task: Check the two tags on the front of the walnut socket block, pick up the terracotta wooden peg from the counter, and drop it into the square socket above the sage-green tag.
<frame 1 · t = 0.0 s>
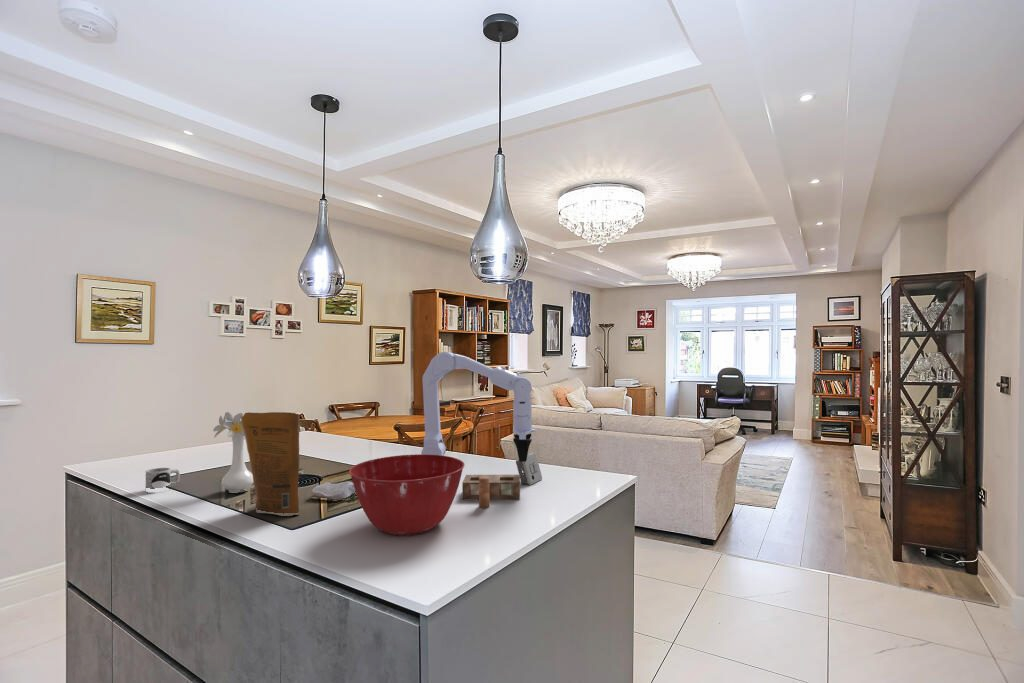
hand: (522, 458, 167), 10 cm above the table, tool pointing down, fingers open, 7 cm apart
pancake mix bag: (274, 514, 146), on the table
socket block: (492, 494, 163), on the table
peg: (484, 506, 151), on the table
electrical switch: (529, 482, 178), on the table
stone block: (332, 498, 162), on the table
flower vase: (240, 492, 170), on the table
mug: (163, 490, 173), on the table
mixing bowl: (408, 527, 134), on the table
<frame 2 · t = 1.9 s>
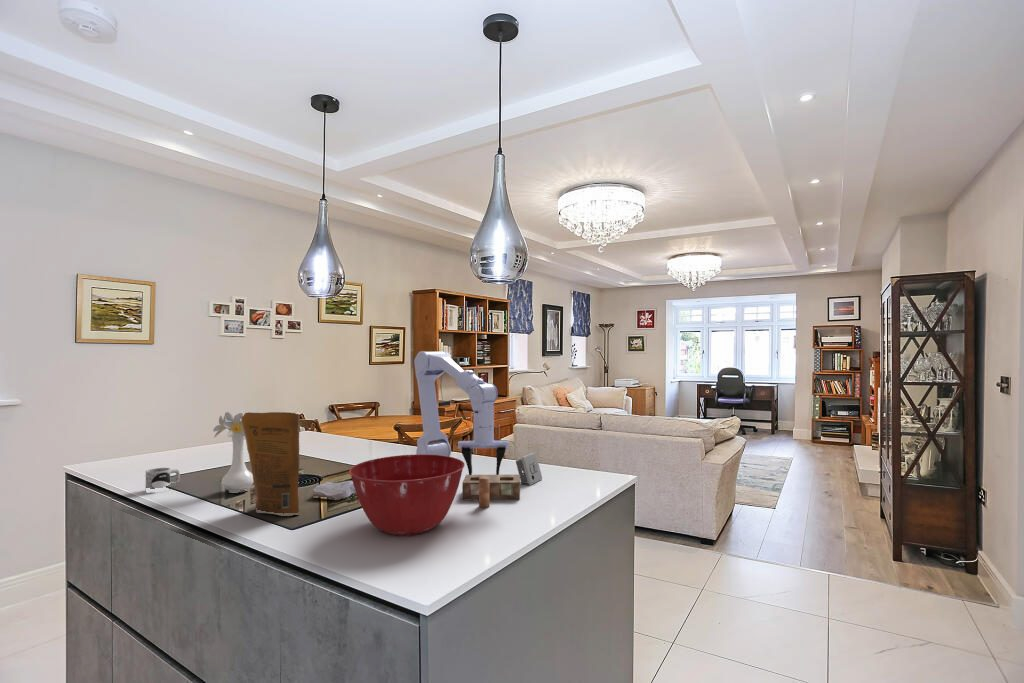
hand: (484, 474, 151), 9 cm above the table, tool pointing down, fingers open, 7 cm apart
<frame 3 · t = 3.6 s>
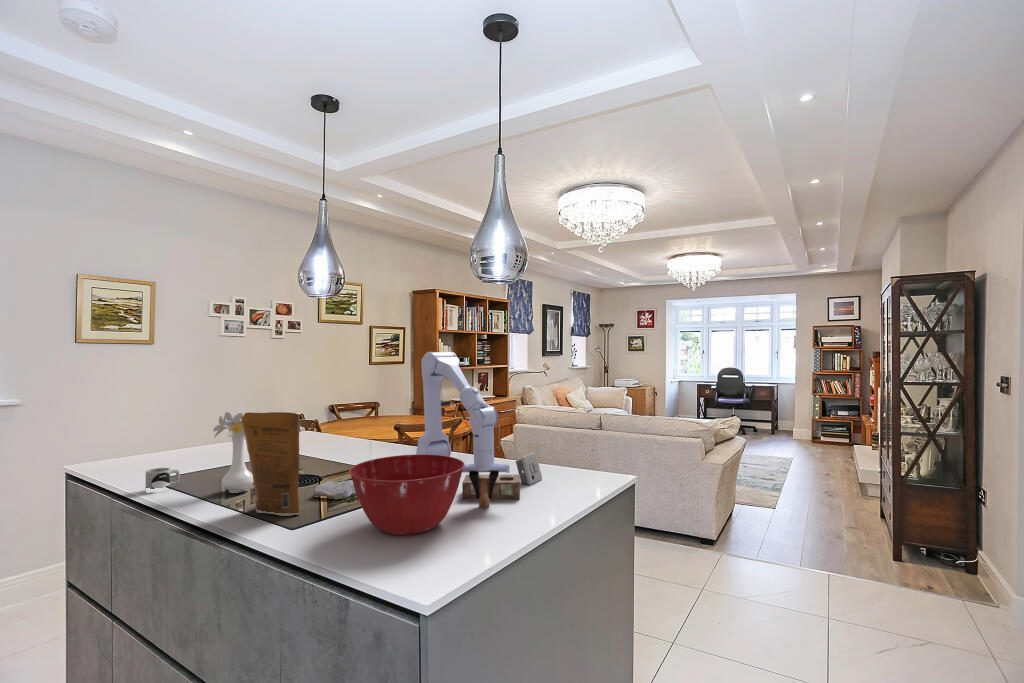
hand: (484, 497, 151), 2 cm above the table, tool pointing down, fingers closed on peg, 3 cm apart
peg: (484, 506, 151), on the table, touching gripper
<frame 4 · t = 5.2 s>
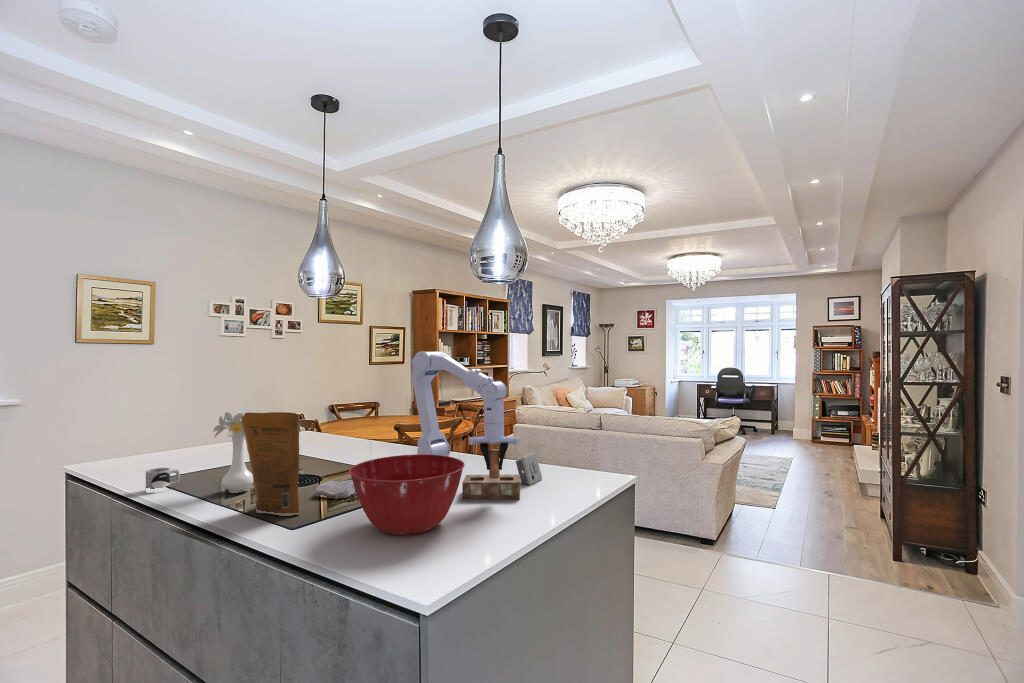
hand: (494, 469, 156), 9 cm above the table, tool pointing down, fingers closed on peg, 3 cm apart
peg: (494, 477, 156), point 7 cm above the table, touching gripper
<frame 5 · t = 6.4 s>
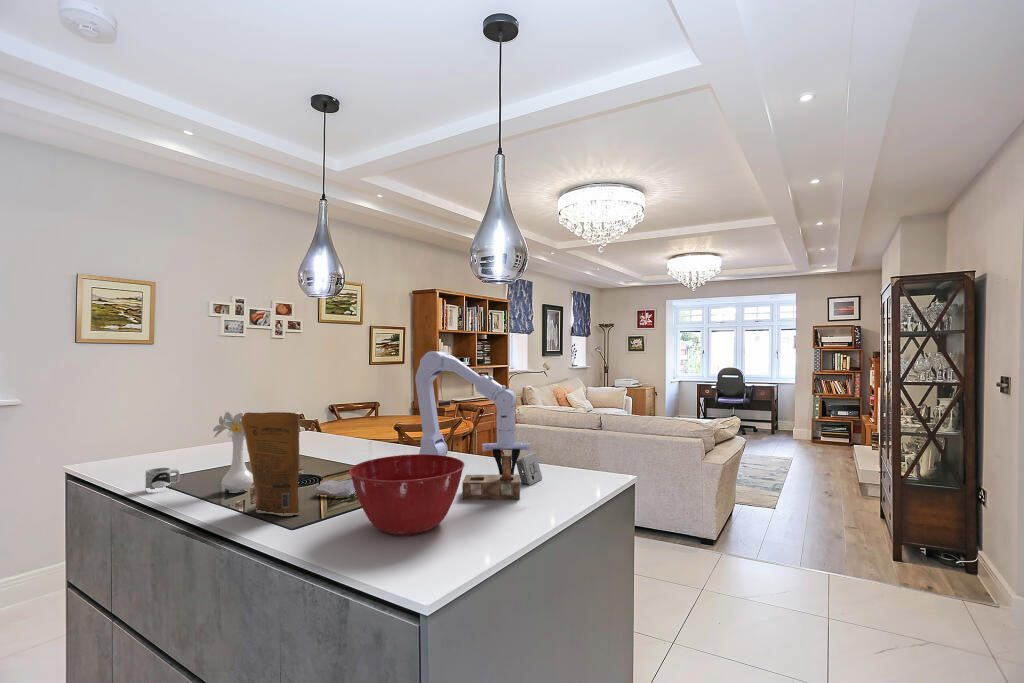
hand: (506, 474, 162), 6 cm above the table, tool pointing down, fingers closed on peg, 3 cm apart
peg: (506, 482, 162), point 4 cm above the table, touching gripper
when the fingers open (6 cm above the table, at t = 7.0 s): peg drops 3 cm, resting on socket block.
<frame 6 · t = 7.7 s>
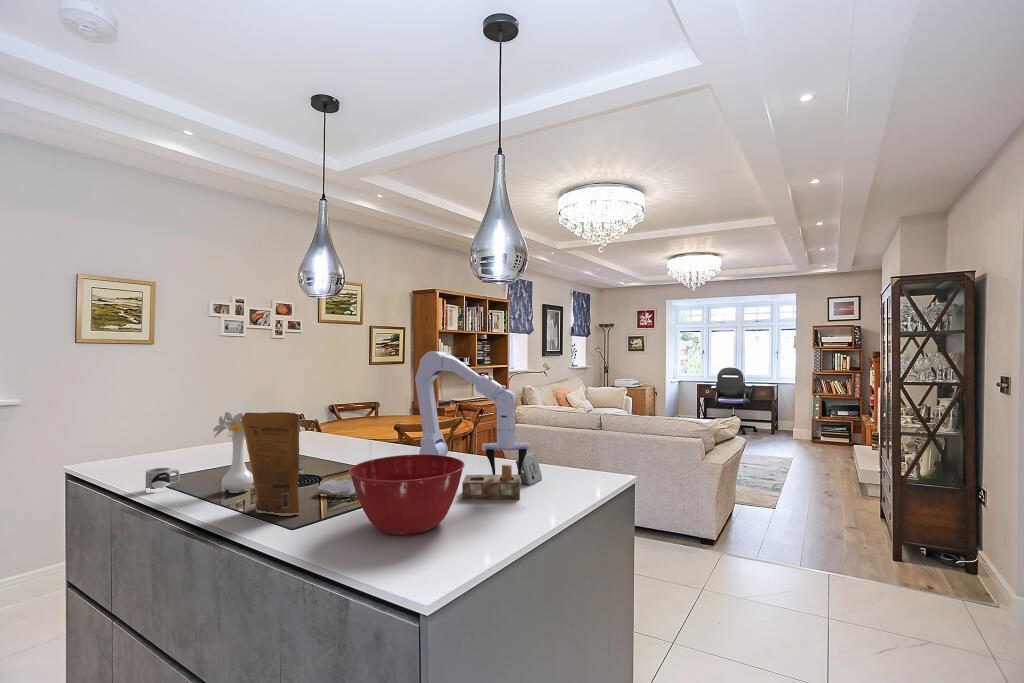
hand: (506, 474, 162), 6 cm above the table, tool pointing down, fingers open, 7 cm apart
peg: (506, 491, 162), point 1 cm above the table, touching socket block
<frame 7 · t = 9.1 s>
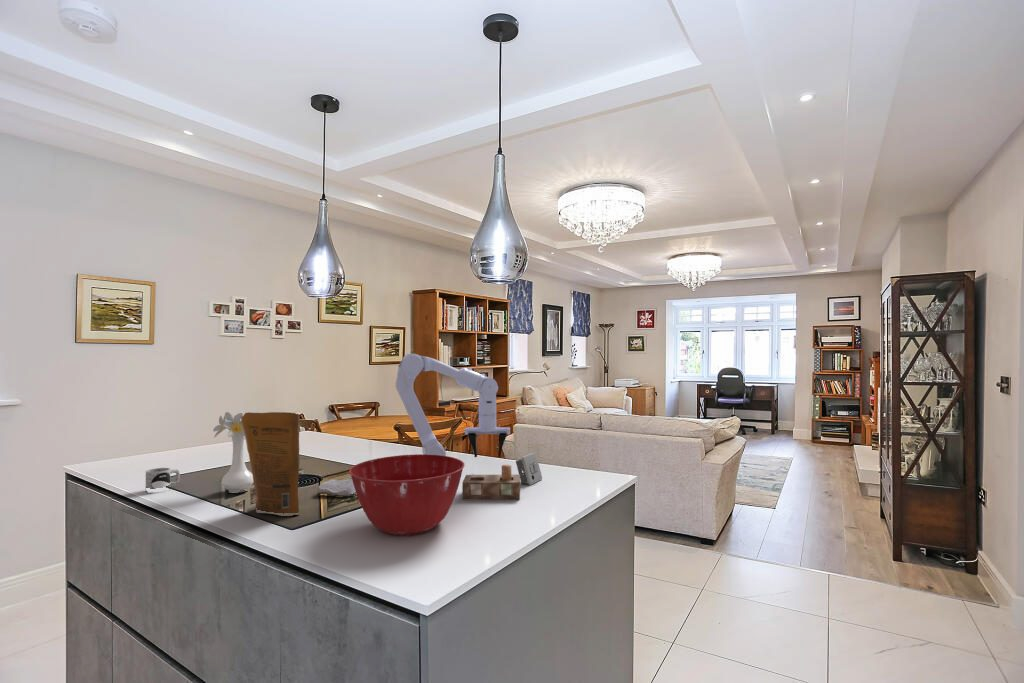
hand: (487, 456, 172), 10 cm above the table, tool pointing down, fingers open, 7 cm apart
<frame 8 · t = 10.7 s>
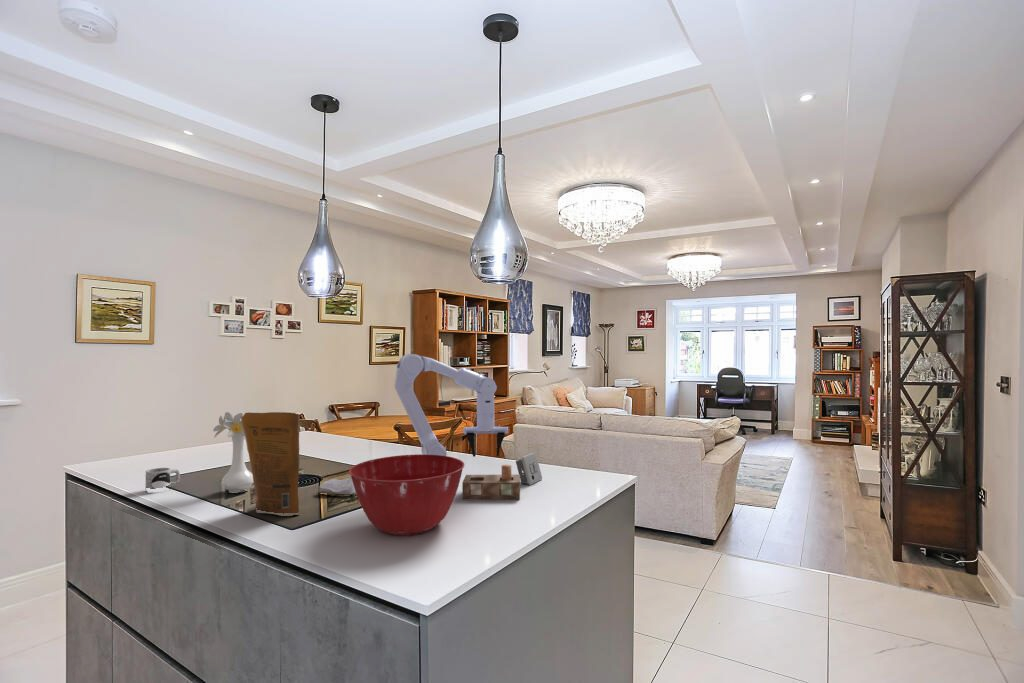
hand: (486, 455, 173), 10 cm above the table, tool pointing down, fingers open, 7 cm apart
at the end: peg 0.1 cm from the target spot on the socket block, point 1.0 cm above the socket block's base; peg tilted 0°; the gripper is holding nothing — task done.
